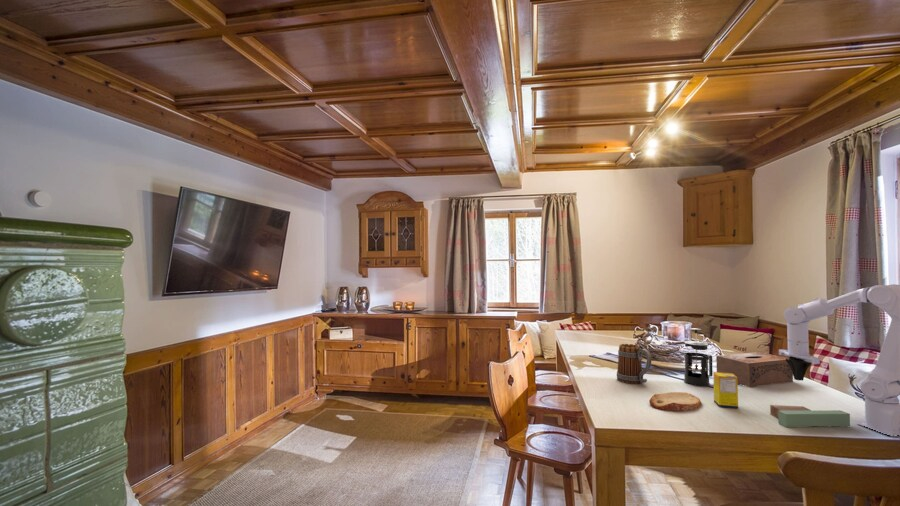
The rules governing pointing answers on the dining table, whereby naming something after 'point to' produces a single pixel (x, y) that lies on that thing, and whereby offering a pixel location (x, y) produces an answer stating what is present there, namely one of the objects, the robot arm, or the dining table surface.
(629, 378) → the mug
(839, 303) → the robot arm
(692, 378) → the french press
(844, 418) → the rail
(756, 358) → the tissue box cover
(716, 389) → the supplement box
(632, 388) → the dining table surface
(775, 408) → the slab
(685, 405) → the bread slice
